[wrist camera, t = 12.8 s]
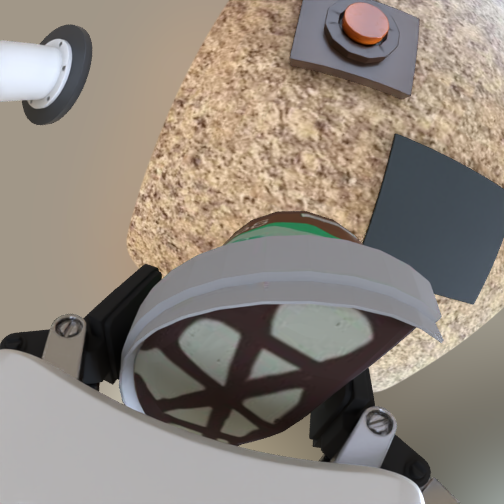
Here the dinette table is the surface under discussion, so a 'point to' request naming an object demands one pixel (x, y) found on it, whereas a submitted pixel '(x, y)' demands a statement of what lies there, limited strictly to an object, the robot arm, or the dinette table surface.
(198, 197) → the dinette table surface
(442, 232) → the mat
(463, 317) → the dinette table surface
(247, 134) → the dinette table surface
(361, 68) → the button box
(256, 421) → the food container
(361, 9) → the button
